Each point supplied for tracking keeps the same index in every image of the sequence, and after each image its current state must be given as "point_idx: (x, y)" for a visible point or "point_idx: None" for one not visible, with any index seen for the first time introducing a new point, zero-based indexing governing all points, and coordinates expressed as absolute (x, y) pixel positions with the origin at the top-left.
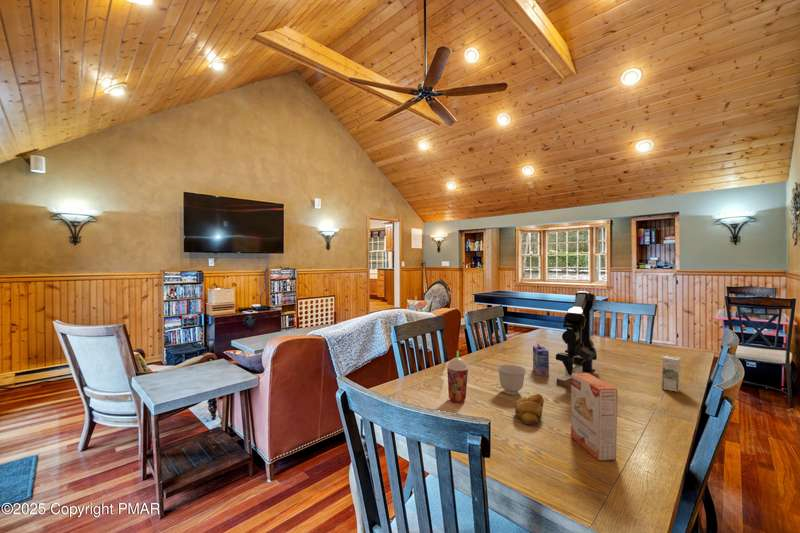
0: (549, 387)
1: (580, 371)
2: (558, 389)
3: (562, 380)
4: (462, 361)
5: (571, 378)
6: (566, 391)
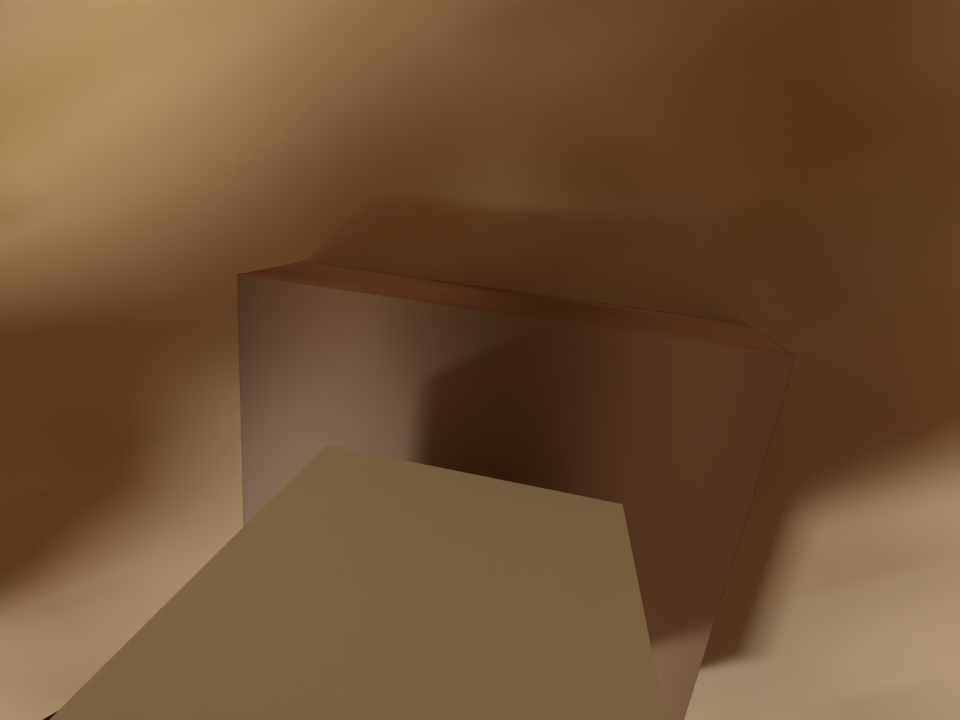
0: (940, 709)
1: (342, 573)
2: (939, 581)
3: (693, 676)
4: None
5: None
6: (952, 450)
